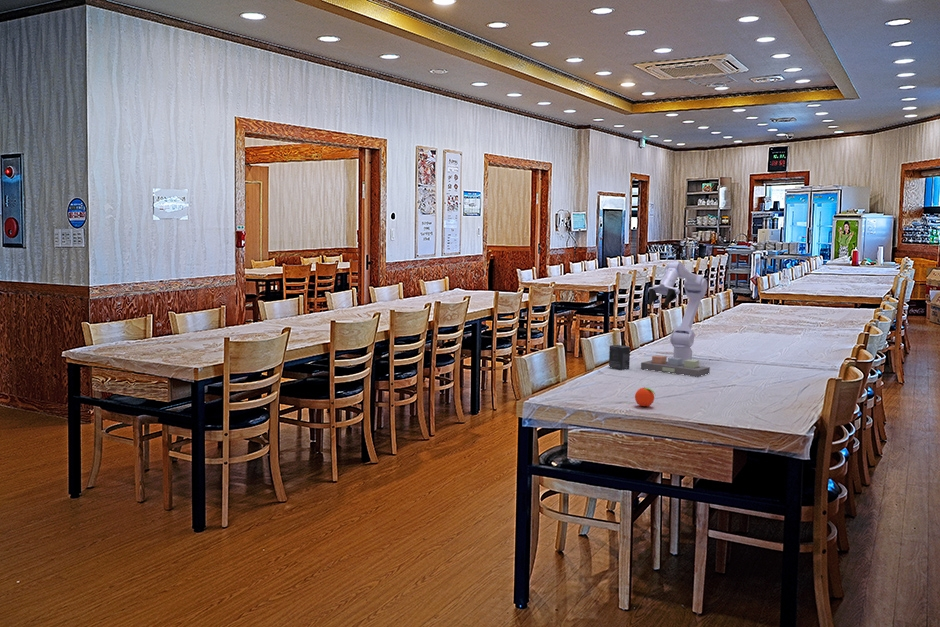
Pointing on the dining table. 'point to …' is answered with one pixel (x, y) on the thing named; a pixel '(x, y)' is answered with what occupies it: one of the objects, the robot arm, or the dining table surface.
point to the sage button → (691, 363)
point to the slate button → (675, 361)
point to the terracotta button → (659, 359)
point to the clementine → (644, 396)
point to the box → (619, 356)
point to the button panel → (675, 368)
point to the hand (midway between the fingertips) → (657, 304)
